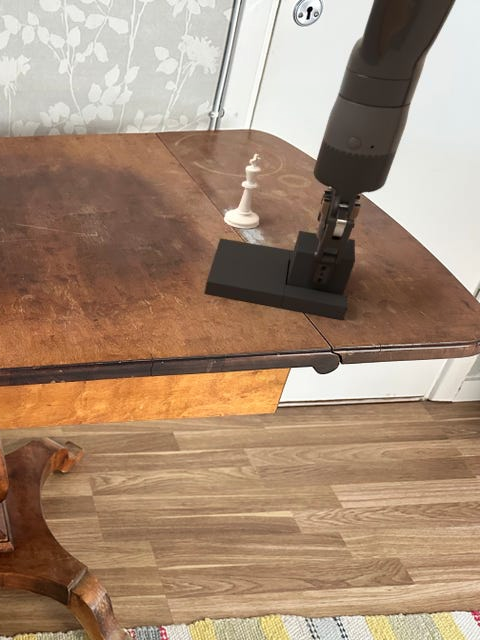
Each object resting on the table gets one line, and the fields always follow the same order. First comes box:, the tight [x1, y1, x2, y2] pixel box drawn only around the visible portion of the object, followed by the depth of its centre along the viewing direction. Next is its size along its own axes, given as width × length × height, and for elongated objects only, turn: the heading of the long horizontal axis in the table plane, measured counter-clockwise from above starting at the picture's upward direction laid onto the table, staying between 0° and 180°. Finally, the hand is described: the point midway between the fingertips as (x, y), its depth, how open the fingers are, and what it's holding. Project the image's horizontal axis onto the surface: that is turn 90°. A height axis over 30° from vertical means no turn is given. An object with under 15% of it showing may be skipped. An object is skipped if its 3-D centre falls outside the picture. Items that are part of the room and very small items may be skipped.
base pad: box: [204, 237, 348, 321], centre depth 88 cm, size 16×12×2 cm
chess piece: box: [223, 153, 262, 230], centre depth 99 cm, size 5×5×10 cm
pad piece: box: [286, 230, 356, 295], centre depth 86 cm, size 6×6×6 cm
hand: (317, 273), depth 86 cm, fingers closed on pad piece, 5 cm apart
